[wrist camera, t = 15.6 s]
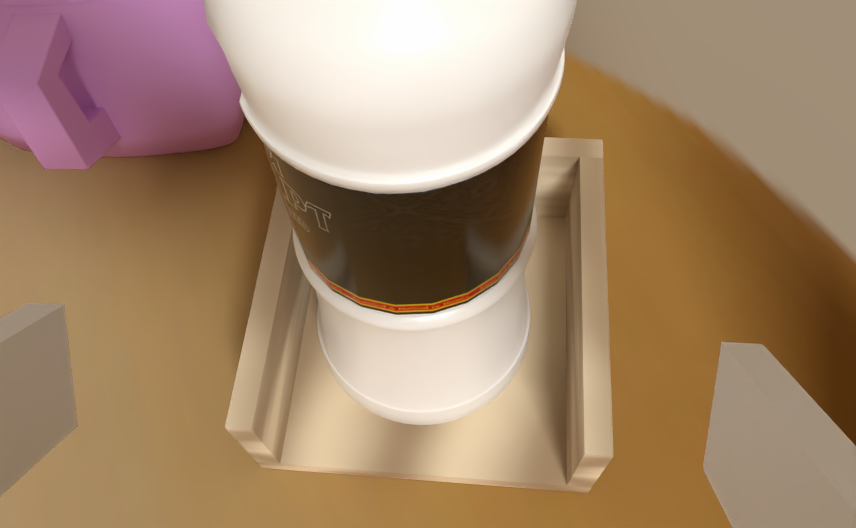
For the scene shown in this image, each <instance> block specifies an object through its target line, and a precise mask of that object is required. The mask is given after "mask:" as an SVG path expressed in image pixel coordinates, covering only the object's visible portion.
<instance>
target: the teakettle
mask: <svg viewBox="0 0 856 528" xmlns="http://www.w3.org/2000/svg"><path fill="white" fill-rule="evenodd" d="M241 92H242V91H241V89H240V87H239V85H238V83H237V81H236V79H235V77H234V75H233V73H232V71H231V68H230V66H229V63H228V61H227V59H226V56H225V54H224V51H223V50H222V48H221V46H220V45H219V43H218V41H217V39H216V38H215V36H214V34H213V32H212V31H211V29H210V27H209V26H208V24H207V20H206V15H205V10H204V5H203V0H0V137H1V138H2V139H4V140H5V141H7V142H8V143H10V144H12V145H14V146H16V147H18V148H20V149H23V150H27V151H31V152H33V153H34V155H35V156H36V158H37V159H38V161H39V162H40V164H41V165H42V167H43V168H44V169H89V168H90V167H91V166H92V165H93V164H95V163H96V162H97V161H98V160H99V159H100V158H101V157H142V156H155V155H166V154H176V153H186V152H195V151H202V150H209V149H214V148H218V147H223V146H226V145H228V144H231V143H233V142H234V141H235V140H236V139H237V138H238V136H239V134H240V132H241V129H242V125H243V121H244V118H245V115H244V113H243V111H242V109H241V106H240V103H239V100H240V97H241Z"/></svg>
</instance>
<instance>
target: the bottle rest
mask: <svg viewBox="0 0 856 528" xmlns="http://www.w3.org/2000/svg"><path fill="white" fill-rule="evenodd" d="M534 202H535V207H536V213H537V234H536V241H535V245H534V249H533V252H532V255H531V257H530V260H529V262H528V264H527V266H526V268H525V286H526V289H527V293H528V297H529V303H530V326H529V336H528V343H527V348H526V351H525V355H524V358H523V360H522V363H521V365H520V367H519V369H518V371H517V373H516V374H515V376H514V378H513V379H512V381H511V382H510V383H509V385H508V386H507V387H506V388H505V389H504V390H503V392H502V393H501V394H500V395H499V396H498V397H497V398H495V399H494V400H493V401H492V402H490V403H489V404H488V405H486V406H485V407H483V408H482V409H480V410H478V411H476V412H474V413H472V414H470V415H468V416H466V417H463V418H460V419H457V420H454V421H450V422H446V423H440V424H433V425H413V424H405V423H400V422H395V421H392V420H389V419H386V418H383V417H380V416H378V415H376V414H374V413H372V412H370V411H368V410H367V409H365V408H364V407H362V406H361V405H359V404H358V403H357V402H355V401H354V400H353V399H352V398H351V397H350V396H349V395H348V394H347V393H346V392H344V390H343V389H342V388H341V387H340V385H339V384H338V383H337V381H336V380H335V378H334V377H333V375H332V373H331V371H330V369H329V367H328V364H327V362H326V360H325V357H324V354H323V351H322V347H321V343H320V340H319V335H318V329H317V307H318V298H317V294H316V290H315V289H314V288H313V286H312V285H311V284H310V282H309V281H308V279H307V278H306V276H305V274H304V273H303V271H302V269H301V267H300V264H299V262H298V259H297V256H296V252H295V248H294V242H293V226H292V223H291V220H290V218H289V215H288V212H287V209H286V207H285V204H284V201H283V198H282V196H281V193H280V190H279V188H278V185H277V190H276V195H275V199H274V204H273V208H272V213H271V218H270V222H269V227H268V231H267V236H266V241H265V245H264V250H263V254H262V259H261V264H260V268H259V273H258V277H257V282H256V287H255V291H254V296H253V300H252V305H251V310H250V314H249V319H248V323H247V328H246V333H245V337H244V342H243V346H242V351H241V356H240V360H239V365H238V369H237V374H236V379H235V383H234V388H233V392H232V397H231V402H230V406H229V411H228V415H227V420H226V425H225V428H226V429H227V430H228V432H229V433H230V434H231V435H232V436H233V437H234V438H235V439H236V440H237V441H238V442H239V443H240V444H241V445H242V447H243V448H244V449H245V450H246V451H247V452H248V453H249V454H250V455H251V456H252V457H253V458H254V459H255V460H256V462H257V463H258V464H259V465H260V466H261V467H262V468H271V469H284V470H297V471H310V472H323V473H336V474H349V475H362V476H375V477H388V478H401V479H414V480H427V481H440V482H453V483H466V484H479V485H492V486H505V487H518V488H531V489H544V490H557V491H570V492H583V493H588V492H589V490H590V489H591V487H592V486H593V485H594V483H595V482H596V480H597V479H598V477H599V476H600V475H601V473H602V472H603V470H604V469H605V467H606V466H607V465H608V463H609V462H610V460H611V459H612V457H613V431H612V402H611V373H610V344H609V315H608V286H607V257H606V228H605V199H604V170H603V141H602V140H598V139H575V138H552V137H545V138H544V144H543V150H542V157H541V163H540V169H539V176H538V182H537V188H536V195H535V201H534Z"/></svg>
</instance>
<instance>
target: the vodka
mask: <svg viewBox="0 0 856 528" xmlns="http://www.w3.org/2000/svg"><path fill="white" fill-rule="evenodd" d="M576 1H577V0H203V5H204V10H205V15H206V20H207V24H208V26H209V27H210V29H211V31H212V32H213V34H214V36H215V38H216V39H217V41H218V43H219V45H220V46H221V48H222V50H223V51H224V54H225V56H226V59H227V61H228V63H229V66H230V68H231V71H232V73H233V75H234V77H235V79H236V81H237V83H238V85H239V87H240V89H241V91H242V92H241V97H240V100H239V103H240V106H241V109H242V111H243V113H244V115H245V117H246V119H247V120H248V122H249V124H250V125H251V127H252V128H253V129H254V131H255V132H256V134H257V135H258V136H259V138H260V139H261V141H262V144H263V147H264V149H265V152H266V155H267V158H268V160H269V163H270V166H271V168H272V171H273V174H274V177H275V179H276V182H277V185H278V188H279V190H280V193H281V196H282V198H283V201H284V204H285V207H286V209H287V212H288V215H289V218H290V220H291V223H292V226H293V242H294V248H295V252H296V256H297V259H298V262H299V264H300V267H301V269H302V271H303V273H304V274H305V276H306V278H307V279H308V281H309V282H310V284H311V285H312V286H313V288H314V289H315V290H316V294H317V298H318V307H317V329H318V335H319V340H320V343H321V347H322V351H323V354H324V357H325V360H326V362H327V364H328V367H329V369H330V371H331V373H332V375H333V377H334V378H335V380H336V381H337V383H338V384H339V385H340V387H341V388H342V389H343V390H344V392H346V393H347V394H348V395H349V396H350V397H351V398H352V399H353V400H354V401H355V402H357V403H358V404H359V405H361V406H362V407H364V408H365V409H367V410H368V411H370V412H372V413H374V414H376V415H378V416H380V417H383V418H386V419H389V420H392V421H395V422H400V423H405V424H413V425H433V424H440V423H446V422H450V421H454V420H457V419H460V418H463V417H466V416H468V415H470V414H472V413H474V412H476V411H478V410H480V409H482V408H483V407H485V406H486V405H488V404H489V403H490V402H492V401H493V400H494V399H495V398H497V397H498V396H499V395H500V394H501V393H502V392H503V390H504V389H505V388H506V387H507V386H508V385H509V383H510V382H511V381H512V379H513V378H514V376H515V374H516V373H517V371H518V369H519V367H520V365H521V363H522V360H523V358H524V355H525V351H526V348H527V343H528V336H529V326H530V303H529V297H528V293H527V289H526V286H525V268H526V266H527V264H528V262H529V260H530V257H531V255H532V252H533V249H534V245H535V241H536V234H537V213H536V207H535V202H534V201H535V195H536V188H537V182H538V176H539V169H540V163H541V157H542V150H543V144H544V138H545V132H546V125H547V119H548V113H549V111H550V109H551V107H552V105H553V103H554V101H555V98H556V96H557V94H558V91H559V88H560V85H561V82H562V77H563V71H564V61H565V50H564V45H565V42H566V39H567V36H568V32H569V29H570V26H571V23H572V20H573V16H574V11H575V6H576Z"/></svg>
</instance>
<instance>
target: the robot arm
mask: <svg viewBox="0 0 856 528" xmlns="http://www.w3.org/2000/svg"><path fill="white" fill-rule="evenodd" d="M77 426H78V424H77V415H76V406H75V397H74V388H73V379H72V370H71V361H70V352H69V343H68V334H67V325H66V316H65V307H64V305H63V304H45V303H27V304H25V305H23V306H21V307H19V308H17V309H16V310H14V311H12V312H10V313H8V314H6V315H5V316H3V317H1V318H0V496H1V495H3V494H4V493H5V492H6V491H7V490H8V489H9V488H10V487H11V486H12V485H14V484H15V483H16V482H17V481H18V480H19V479H20V478H21V477H22V476H23V475H24V474H26V473H27V472H28V471H29V470H30V469H31V468H32V467H33V466H34V465H35V464H37V463H38V462H39V461H40V460H41V459H42V458H43V457H44V456H45V455H46V454H48V453H49V452H50V451H51V450H52V449H53V448H54V447H55V446H56V445H57V444H59V443H60V442H61V441H62V440H63V439H64V438H65V437H66V436H67V435H68V434H70V433H71V432H72V431H73V430H74V429H75V428H76V427H77ZM703 470H704V472H705V474H706V476H707V478H708V480H709V482H710V484H711V486H712V488H713V490H714V492H715V494H716V496H717V498H718V500H719V502H720V504H721V506H722V508H723V510H724V512H725V514H726V516H727V518H728V520H729V522H730V524H731V526H732V528H856V446H855V445H854V444H853V442H852V441H851V440H850V439H849V438H848V437H847V436H846V435H845V434H844V433H843V431H842V430H841V429H840V428H839V427H838V426H837V425H836V424H835V423H834V422H833V421H832V419H831V418H830V417H829V416H828V415H827V414H826V413H825V412H824V411H823V410H822V409H821V407H820V406H819V405H818V404H817V403H816V402H815V401H814V400H813V399H812V398H811V397H810V395H809V394H808V393H807V392H806V391H805V390H804V389H803V388H802V387H801V386H800V384H799V383H798V382H797V381H796V380H795V379H794V378H793V377H792V376H791V375H790V374H789V372H788V371H787V370H786V369H785V368H784V367H783V366H782V365H781V364H780V363H779V362H778V360H777V359H776V358H775V357H774V356H773V355H772V354H771V353H770V352H769V351H768V349H767V348H766V347H765V346H764V345H763V344H751V343H733V342H722V343H721V350H720V356H719V363H718V370H717V377H716V383H715V390H714V397H713V404H712V411H711V417H710V424H709V431H708V438H707V444H706V451H705V458H704V465H703Z"/></svg>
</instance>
